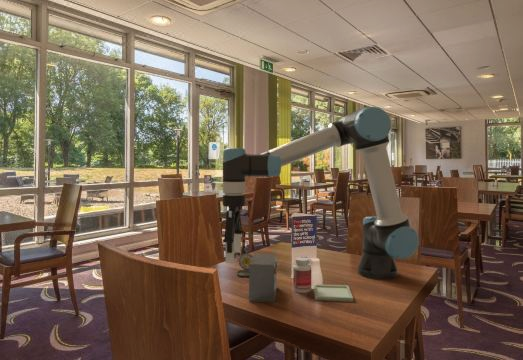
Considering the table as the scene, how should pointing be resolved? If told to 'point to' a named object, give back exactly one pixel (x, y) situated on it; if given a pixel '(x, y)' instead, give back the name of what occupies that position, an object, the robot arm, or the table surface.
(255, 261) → the block
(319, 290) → the pad
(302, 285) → the pill bottle
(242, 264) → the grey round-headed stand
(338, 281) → the table surface
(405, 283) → the table surface
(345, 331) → the table surface
